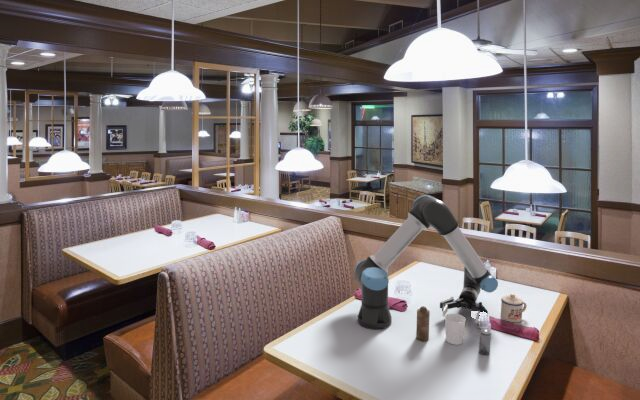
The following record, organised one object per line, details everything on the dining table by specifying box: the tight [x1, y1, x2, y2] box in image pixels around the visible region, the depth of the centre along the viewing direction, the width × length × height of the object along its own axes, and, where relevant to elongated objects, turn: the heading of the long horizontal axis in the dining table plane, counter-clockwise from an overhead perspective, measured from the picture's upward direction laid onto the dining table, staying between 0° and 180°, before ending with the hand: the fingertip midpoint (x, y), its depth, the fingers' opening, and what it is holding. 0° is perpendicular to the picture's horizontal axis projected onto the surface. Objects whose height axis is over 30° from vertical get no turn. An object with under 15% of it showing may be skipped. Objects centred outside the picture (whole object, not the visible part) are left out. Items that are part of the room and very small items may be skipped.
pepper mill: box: [415, 305, 431, 342], centre depth 171 cm, size 5×5×14 cm
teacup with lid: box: [500, 293, 528, 324], centre depth 187 cm, size 12×9×12 cm
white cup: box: [444, 313, 467, 346], centre depth 169 cm, size 8×8×10 cm
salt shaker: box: [478, 328, 492, 356], centre depth 160 cm, size 4×4×9 cm
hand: (459, 316), depth 178 cm, fingers open, 13 cm apart
